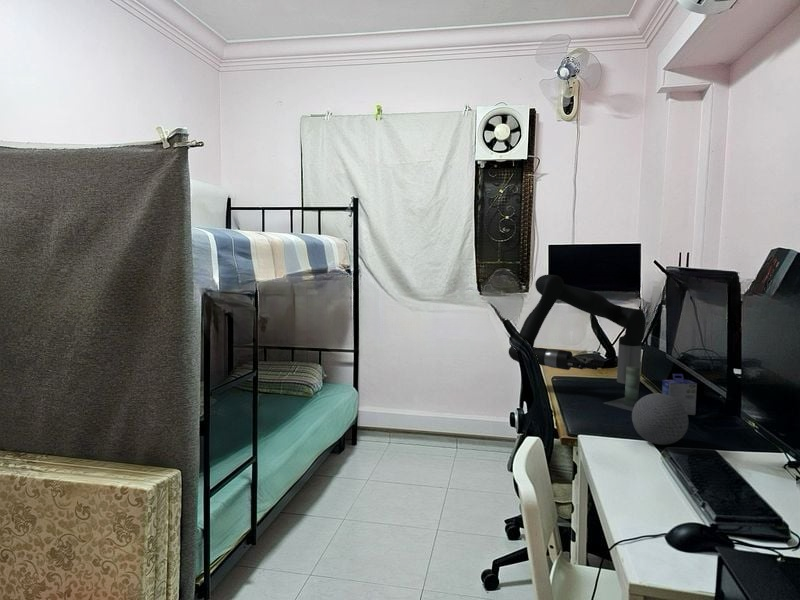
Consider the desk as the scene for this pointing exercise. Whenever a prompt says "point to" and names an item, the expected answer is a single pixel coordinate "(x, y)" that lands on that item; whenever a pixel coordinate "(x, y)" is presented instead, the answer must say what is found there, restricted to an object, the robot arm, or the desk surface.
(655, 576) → the desk surface
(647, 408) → the decorative ball
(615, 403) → the tapping mat
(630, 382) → the green pillar
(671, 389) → the ink cartridge box
